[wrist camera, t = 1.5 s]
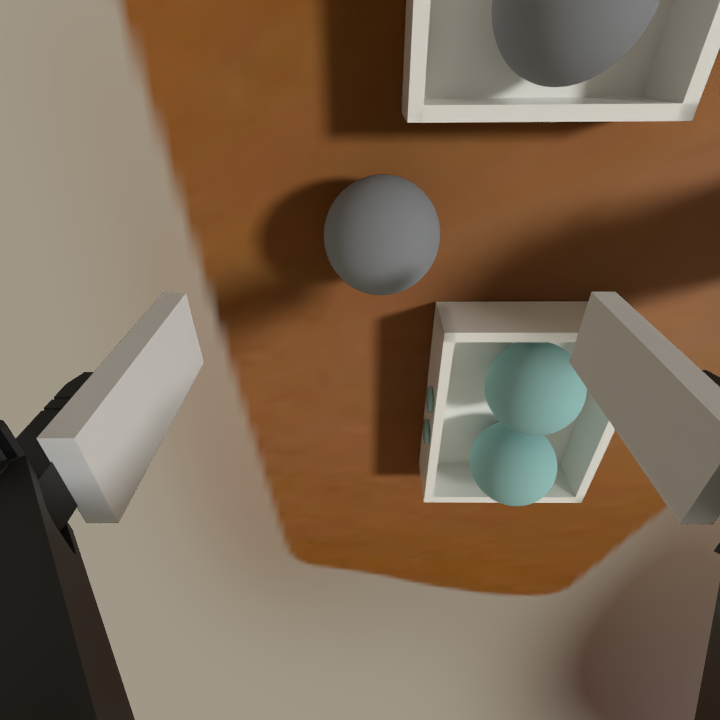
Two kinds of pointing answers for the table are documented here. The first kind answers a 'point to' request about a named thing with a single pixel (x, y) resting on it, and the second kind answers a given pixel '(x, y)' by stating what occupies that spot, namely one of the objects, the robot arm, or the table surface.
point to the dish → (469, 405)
